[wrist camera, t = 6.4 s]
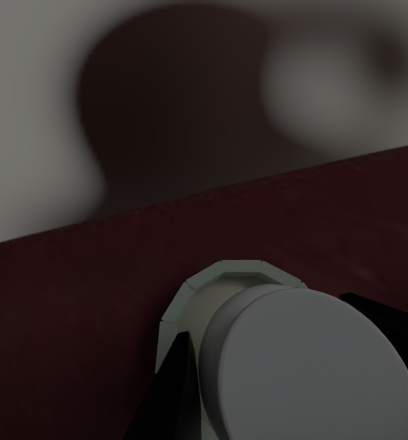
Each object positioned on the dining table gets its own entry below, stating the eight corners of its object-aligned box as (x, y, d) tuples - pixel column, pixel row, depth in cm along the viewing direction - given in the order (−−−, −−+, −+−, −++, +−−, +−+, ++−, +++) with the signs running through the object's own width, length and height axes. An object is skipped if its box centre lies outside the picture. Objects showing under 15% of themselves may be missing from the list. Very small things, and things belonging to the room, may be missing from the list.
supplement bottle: (238, 289, 15) (257, 223, 6) (317, 340, 13) (494, 347, 4) (192, 367, 13) (129, 426, 4) (277, 440, 11) (452, 783, 3)
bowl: (292, 513, 13) (305, 548, 11) (133, 378, 17) (120, 385, 15) (348, 316, 18) (366, 313, 16) (214, 245, 22) (213, 235, 20)
